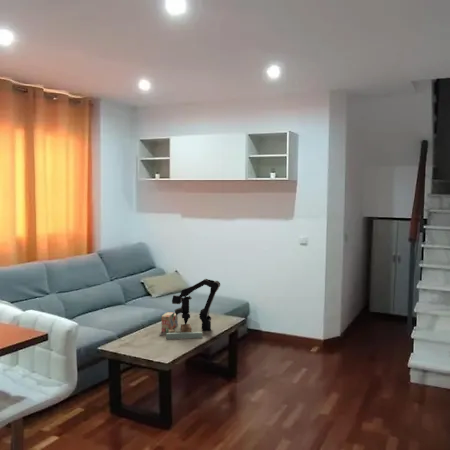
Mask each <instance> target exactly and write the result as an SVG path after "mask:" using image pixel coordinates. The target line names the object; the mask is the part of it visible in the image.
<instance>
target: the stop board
mask: <svg viewBox="0 0 450 450" xmlns="http://www.w3.org/2000/svg"><path fill="white" fill-rule="evenodd" d="M165 333H166V335H165V336H166V339H167V340H170V339H171V340H172V339H174V340H175V339H197V338H198V339H201V338H203V331H192V332H175V333H168V332H165Z"/></svg>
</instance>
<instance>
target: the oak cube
mask: <svg viewBox="0 0 450 450" xmlns="http://www.w3.org/2000/svg"><path fill="white" fill-rule="evenodd" d="M167 333H176V330H175V328H173V329H171V330H168V332H167Z"/></svg>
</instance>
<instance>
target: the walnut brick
mask: <svg viewBox="0 0 450 450" xmlns="http://www.w3.org/2000/svg"><path fill="white" fill-rule="evenodd" d="M192 329H193V328H192V325H191V323H187V324H185V323H184V324H180V331H181V332H193V330H192Z"/></svg>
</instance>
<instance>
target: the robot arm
mask: <svg viewBox="0 0 450 450" xmlns="http://www.w3.org/2000/svg"><path fill="white" fill-rule="evenodd" d="M203 286H207V287H208V288H210V291H209V295H208V297H207V301H206V303H205V306H204V308H202V309H200V311H199V314H198V318H199V320H200V321H201V330H202V332H203V331H205V332H206V331H212V327H211V324H212V323H211V321H212V317H211V316H210V309H211V306H212V303H213V301H214V298H215V296H216V293H217V292H218V290H219V288H220V287H221V282H220V281H218V280H213V279H209V278H208V279H207V278H204V279H203V280H201V281H199V282H197V283H196V284H193V285H191V286H188V287H184V288H183V289H182V290H181V291H180V294H179V295H176V294H173V296H172V298H171V299H172V300H171V304H173V305H180V304H181V306H180V307H178V308H176V309H174V313H176V315H177V316H178V315H179V314H181V318H182V319H183V322H184V324H188V321H189V319H190V318H191V314H190V300H192V297H191V295H190V294H192V292H194V291H197V290H198V289H200V288H201V287H203Z"/></svg>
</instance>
